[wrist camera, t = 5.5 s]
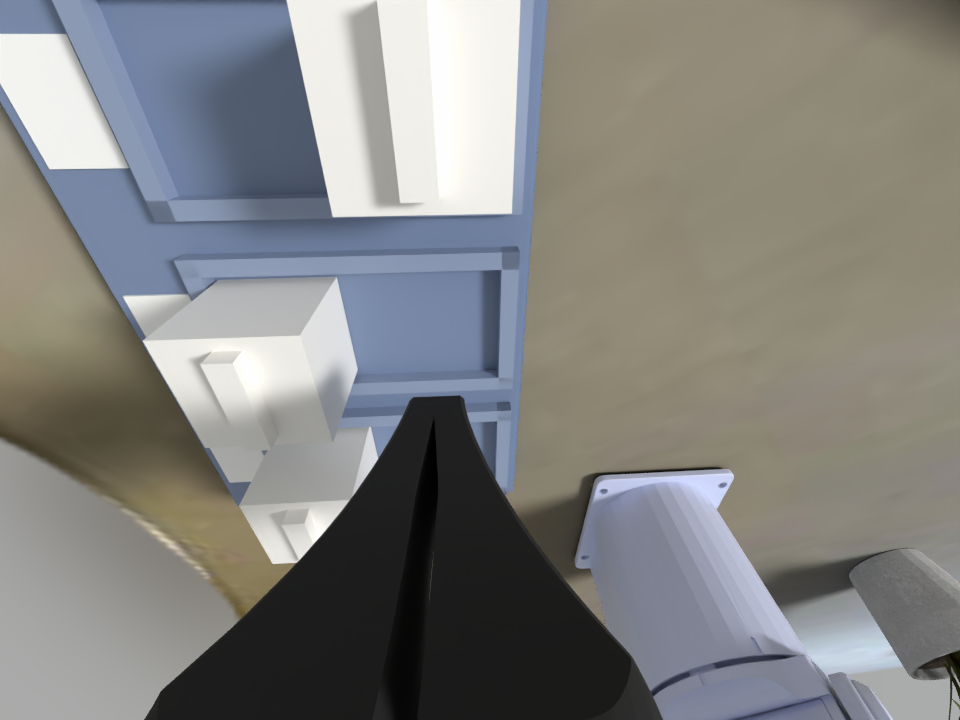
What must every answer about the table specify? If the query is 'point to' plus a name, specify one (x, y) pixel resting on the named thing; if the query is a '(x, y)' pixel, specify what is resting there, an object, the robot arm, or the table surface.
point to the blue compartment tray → (267, 199)
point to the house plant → (914, 611)
